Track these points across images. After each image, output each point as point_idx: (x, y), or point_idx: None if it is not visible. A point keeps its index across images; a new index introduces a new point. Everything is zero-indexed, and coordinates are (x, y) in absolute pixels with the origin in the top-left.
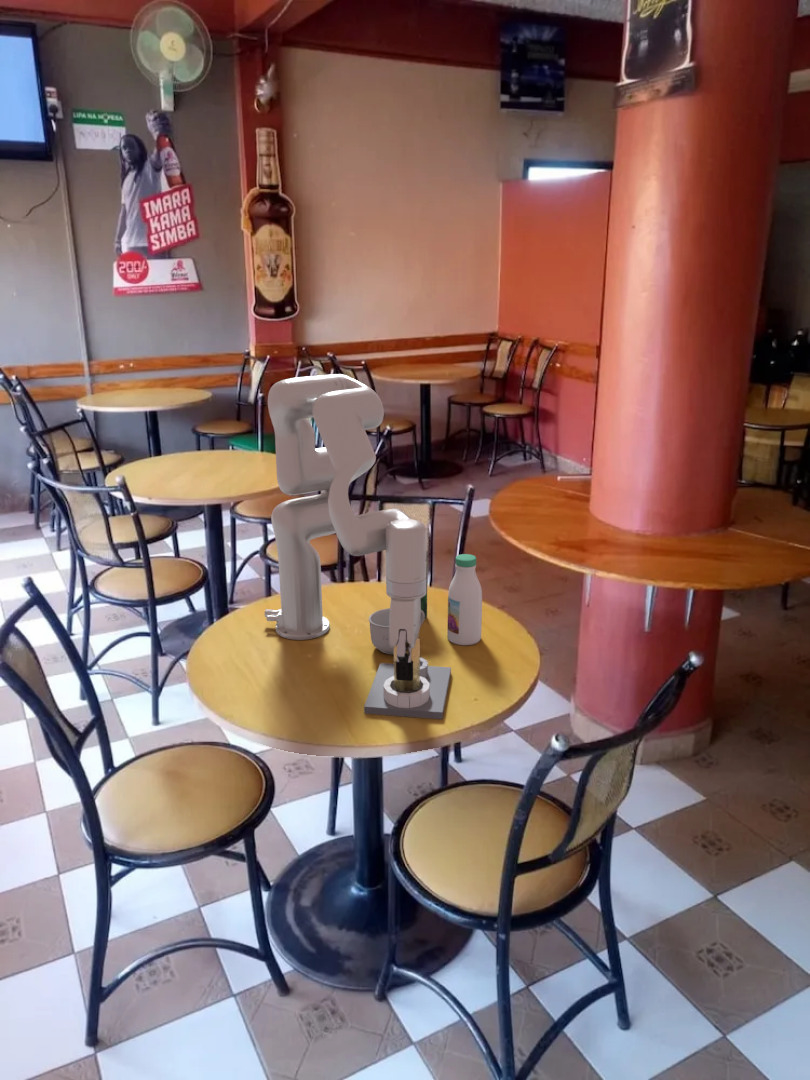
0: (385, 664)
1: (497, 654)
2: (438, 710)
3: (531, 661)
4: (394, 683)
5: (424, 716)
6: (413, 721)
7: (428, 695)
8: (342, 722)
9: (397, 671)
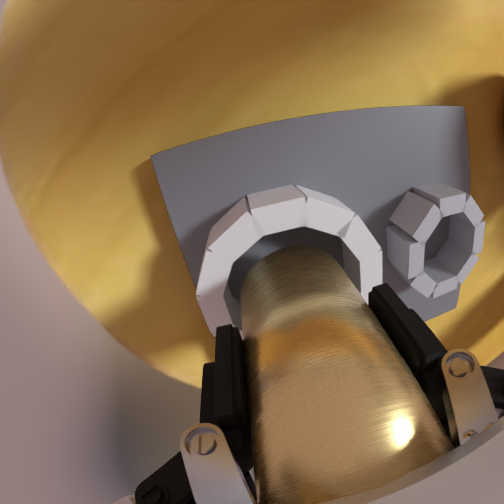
0: (460, 125)
1: (492, 333)
2: None
3: None
4: (265, 265)
5: None
6: (188, 310)
7: None
8: (84, 118)
9: (217, 364)
